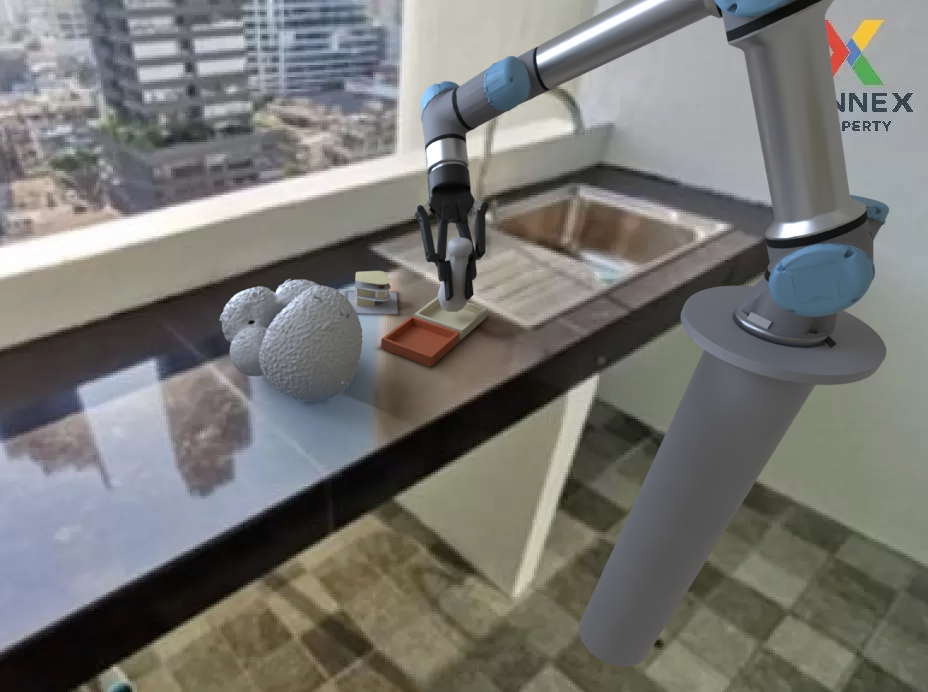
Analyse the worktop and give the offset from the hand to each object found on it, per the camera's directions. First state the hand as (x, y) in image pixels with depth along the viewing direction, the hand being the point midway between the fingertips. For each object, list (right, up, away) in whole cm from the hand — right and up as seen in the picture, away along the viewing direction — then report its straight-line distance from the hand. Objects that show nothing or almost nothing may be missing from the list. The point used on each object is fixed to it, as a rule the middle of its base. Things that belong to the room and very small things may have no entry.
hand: (459, 297), depth 108 cm
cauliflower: (-29, -15, -6) cm, 33 cm away
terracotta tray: (-7, -8, +1) cm, 11 cm away
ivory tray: (0, -3, +7) cm, 8 cm away
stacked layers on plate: (-15, +2, +13) cm, 20 cm away
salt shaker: (0, -1, +6) cm, 6 cm away
